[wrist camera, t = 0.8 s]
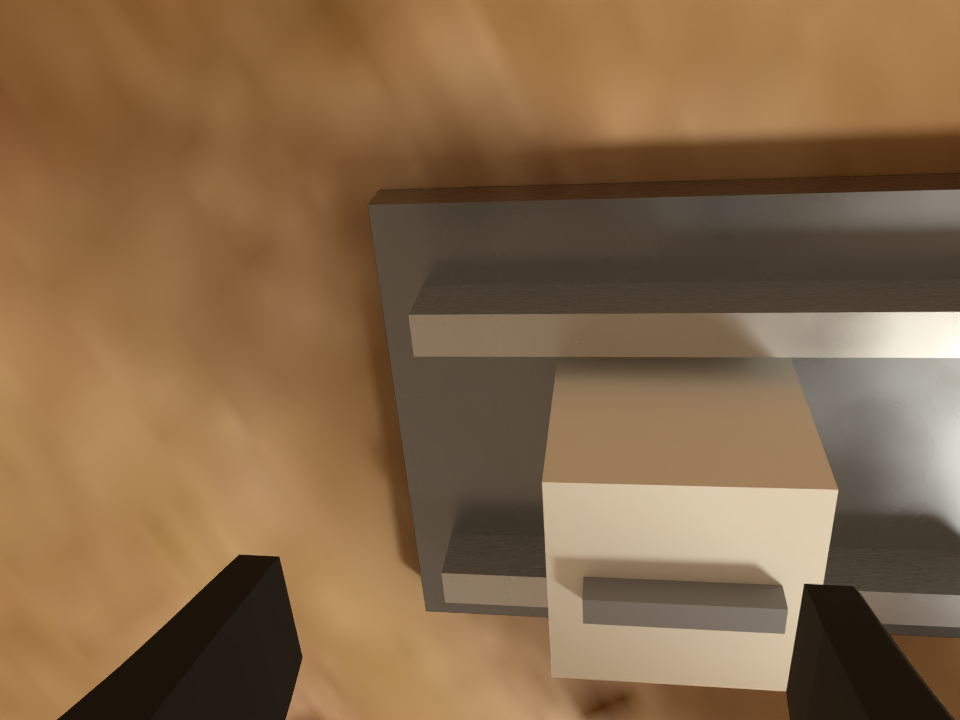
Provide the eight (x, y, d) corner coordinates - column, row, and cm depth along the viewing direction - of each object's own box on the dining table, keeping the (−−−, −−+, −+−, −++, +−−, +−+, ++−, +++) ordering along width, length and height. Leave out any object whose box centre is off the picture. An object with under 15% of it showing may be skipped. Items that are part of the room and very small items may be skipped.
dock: (984, 611, 23) (1022, 687, 21) (432, 585, 25) (415, 652, 23) (1113, 168, 17) (1184, 211, 15) (378, 190, 19) (349, 229, 17)
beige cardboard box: (767, 525, 21) (811, 718, 16) (564, 519, 22) (549, 701, 17) (787, 348, 19) (847, 512, 14) (558, 347, 19) (539, 504, 15)
